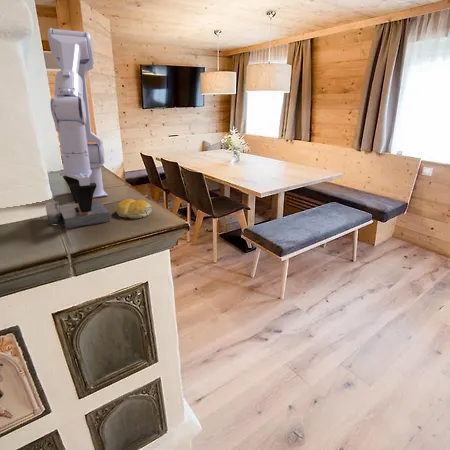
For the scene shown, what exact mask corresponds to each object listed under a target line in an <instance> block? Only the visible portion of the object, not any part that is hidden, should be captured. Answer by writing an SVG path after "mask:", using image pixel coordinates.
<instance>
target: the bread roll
mask: <svg viewBox="0 0 450 450" xmlns="http://www.w3.org/2000/svg"><path fill="white" fill-rule="evenodd" d="M152 212H153V207H152V205H151V204H150V203H149V202H147V201H146V200H144V199H137V200H136V199H133V198H126V199H124V200H122V201H120V202H119V203H117V205H116V213H117V215H118V216H119V217H121V218H129V219H134V220H135V219H142V217H143V218H145V217H148V216H149V215H151V213H152Z"/></svg>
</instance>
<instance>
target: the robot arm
mask: <svg viewBox="0 0 450 450" xmlns="http://www.w3.org/2000/svg"><path fill="white" fill-rule="evenodd" d="M47 38H48V39H47V40H48V45H49V49H50V51H51V54H52V56H53V58H54V62H56V66H58V68H59V67H60V70H59V71H58V72H56V74H55V76H54V78H55V79H54V81H55V82H54V97H53V98H50V101H49V103H50V107H49V108H50V112H51V116H52V119H53V122H54V127H55V132H57V133H58V141H59V146H60V152H61V159H62V164H63V165H62V166H63V170H58V175H59V176H61V177H62V178H63V179H64V181H65V182H66V184H67V186H68V189H69V190H70V193H71V195H72V199H73V202H74V204H78V205H79V208H80V210H81V212H82V213H84V212H91V208H92V202H93V198H99V197H108V193H107V192H106V191H105V190H104V184H103V175H102V166H103V165H104V164H105V163H106V162H105V158H106V157H105V151H104V150H105V149H104V144H103V140H102V138H101V137H100V136H98V135H97V134H95V133H94V132H93V131H92V123H91V122H92V121H91V115H90V104H89V96H88V94H89V93H88V88H87V86H88V85H87V76H88V71H90V70H92V69H94V64H95V63H94V49H93V40H92V35H91V33H89V31H87V30H86V31H76V30H67V29H59V28H52V27H49V29H48V31H47Z"/></svg>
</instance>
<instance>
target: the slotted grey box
mask: <svg viewBox="0 0 450 450" xmlns="http://www.w3.org/2000/svg"><path fill="white" fill-rule="evenodd" d="M44 207H45V212H46V216H47V223H48V225H49V224H59V225H61V224H63V226H64V228H65V229H66V230H67V229H74V228H78V227H83V226H84V227H85V226H90V225H96V224H102V223H108V222H111V219H110V211H109V210H108V209H107V208H106V207H105V205H104V204H103V203H102V202H101V200H96V201H93V200H92V208H91V212H84V213H82V212H79V208H78V203H77V204H76V203H72V204H66V205H65V204H64V205H61V204H60V202H59V201H57V200H55V201H53V200H52V201H51V200H50V201H47V202H45V203H44Z"/></svg>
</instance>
